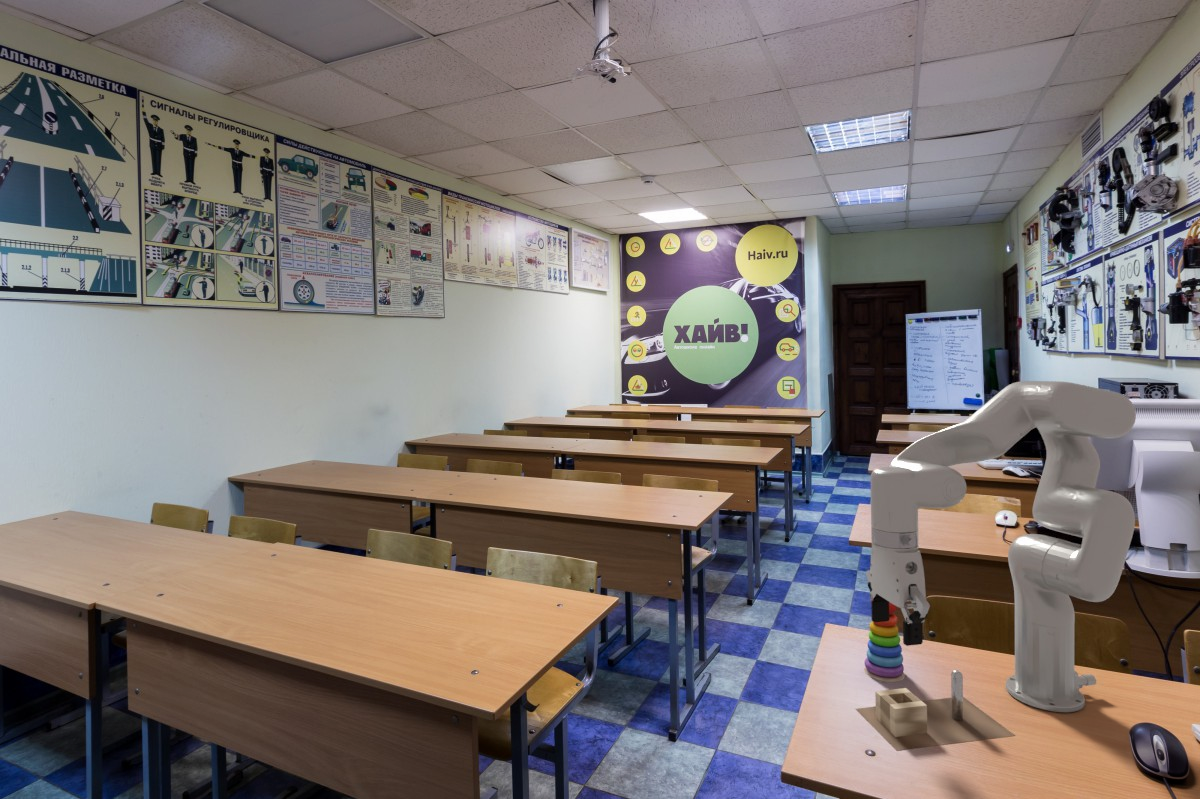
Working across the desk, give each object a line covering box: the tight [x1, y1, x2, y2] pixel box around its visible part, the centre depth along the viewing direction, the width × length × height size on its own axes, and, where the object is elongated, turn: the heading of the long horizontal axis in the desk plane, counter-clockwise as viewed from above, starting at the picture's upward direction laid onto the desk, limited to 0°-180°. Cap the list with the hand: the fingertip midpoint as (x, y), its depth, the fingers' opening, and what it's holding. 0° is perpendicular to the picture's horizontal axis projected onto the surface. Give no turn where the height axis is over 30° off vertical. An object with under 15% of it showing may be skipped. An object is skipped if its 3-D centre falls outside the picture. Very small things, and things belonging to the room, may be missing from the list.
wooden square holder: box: [874, 687, 927, 737], centre depth 112 cm, size 6×6×5 cm
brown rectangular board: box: [855, 696, 1016, 752], centre depth 113 cm, size 22×13×2 cm, turn 97°
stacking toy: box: [863, 602, 906, 683], centre depth 131 cm, size 8×8×19 cm
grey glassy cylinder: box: [950, 669, 964, 721], centre depth 113 cm, size 2×2×9 cm
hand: (896, 632), depth 111 cm, fingers open, 9 cm apart
